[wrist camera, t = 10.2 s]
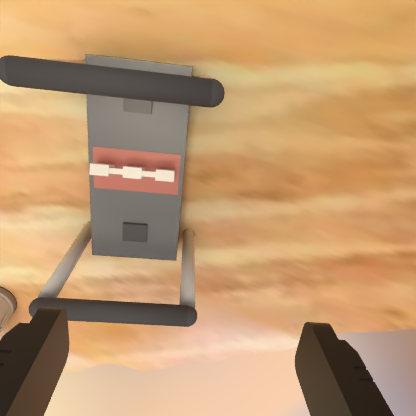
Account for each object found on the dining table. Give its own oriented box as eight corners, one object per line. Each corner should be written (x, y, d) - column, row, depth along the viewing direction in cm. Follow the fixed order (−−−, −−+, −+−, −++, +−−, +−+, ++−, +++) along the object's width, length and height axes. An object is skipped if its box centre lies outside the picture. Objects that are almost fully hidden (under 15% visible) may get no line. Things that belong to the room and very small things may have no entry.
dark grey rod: (197, 301, 33) (198, 315, 31) (196, 317, 34) (196, 331, 32) (33, 292, 32) (23, 306, 30) (35, 308, 33) (26, 323, 31)
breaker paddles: (175, 169, 39) (174, 171, 36) (174, 180, 39) (173, 182, 36) (97, 162, 38) (89, 163, 35) (96, 173, 38) (89, 174, 35)
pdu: (211, 68, 39) (222, 72, 25) (193, 243, 49) (193, 318, 35) (77, 52, 38) (8, 47, 24) (85, 235, 48) (39, 309, 33)
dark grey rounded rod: (224, 79, 25) (227, 80, 23) (221, 107, 26) (223, 110, 24) (3, 54, 24) (-13, 53, 22) (7, 83, 24) (-8, 85, 23)
